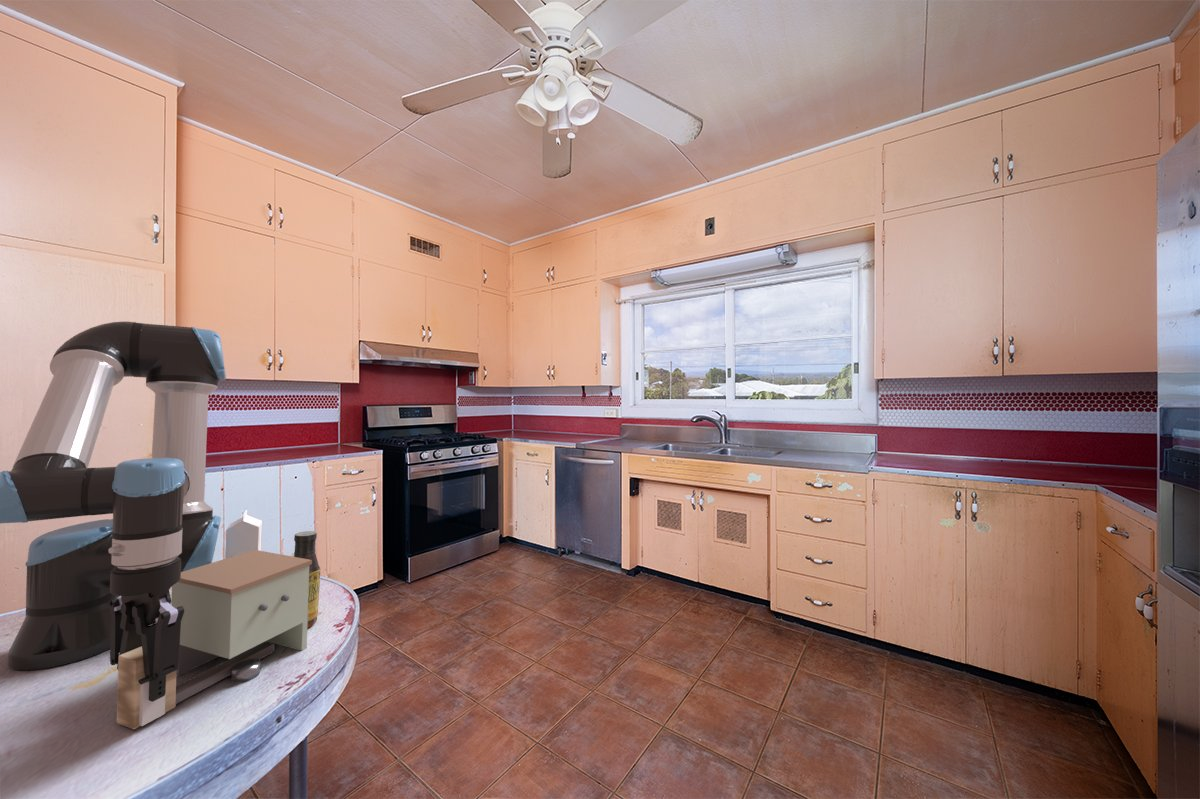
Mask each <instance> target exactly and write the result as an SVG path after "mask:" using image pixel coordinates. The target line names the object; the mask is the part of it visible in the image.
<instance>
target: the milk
mask: <svg viewBox="0 0 1200 799" xmlns="http://www.w3.org/2000/svg"><path fill="white" fill-rule="evenodd" d="M262 527H263V521H262V519H258V518H256V517H254V516H250V515H248V509H245V511H244V512H243V513H242V517H241V518H239V519H236V520H235V521H233V522H230V524H229V526H228V527H227V529H226V530H225V548H224V549H225V551H224V552H225V554H224V559H227V558H230V557H233V556H237V555H240V554H243V553H247V552H250V551H253V550H259V551H262V535H263V534H262V532H263V531H262V530H263V528H262Z"/></svg>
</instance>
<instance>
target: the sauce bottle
mask: <svg viewBox="0 0 1200 799" xmlns="http://www.w3.org/2000/svg"><path fill="white" fill-rule="evenodd" d="M317 533H318V532H317V531H315V530H309V531H299V532H297V533H295V534H294V539H293V541H294V551H293V553H294V554H293V557H298V558H303V559H309V560H312V564H311V565H309V590H308V621H307V629H309V628H311V627H312V626H315V624H316V622H317V620H318V615H319V598H320V586H321V584H320V583H321V582H320V581H321V567H320V565H319V562H318V559H317V555H316V554H317V553H316V539H317V535H318V534H317Z"/></svg>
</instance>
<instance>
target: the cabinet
mask: <svg viewBox="0 0 1200 799" xmlns="http://www.w3.org/2000/svg"><path fill="white" fill-rule="evenodd" d="M311 564H312V560H309V559H303V558H298V557H294V556H291V555H286V554H280V553H274V552H268V551H263V550H261V551H259V550H253V551H250V552H247V553H243V554H240V555H237V556H233V557H230V558H227V559H225V558H224V559H221V560H217V561H214V562H213V561H212V563H210V564H207V565H203V566H200V567H197V568H193V569H190V570H187V571H183V572H181V578H180V580H179V581H178V582H177V583H176V584H174V585H173V586H172V587H171V605H172V606H173V607H174V608H177V607H180V606H182V607H183V608H184V614H183V617H182V620H181V630H180V647H179V664H178V670H177V671H176V677H179V676H181V675H183V674H185V673H188V672H190V671H191V670H194V669H196V668H198V667H200V666H202V665H205V664H206V663H208V662H210V661H212V660H215V659H217V658H219V657H221V658H224V659H227V660H229V659H231V658H233V657H235V656H237V655H239V654H241V653H243V652H245V651H247V650H249V649H251V648H253V647H255V646H257V645H259V644H261V643H263V642H265V641H266V642H270V643H273V644H274V645H280V646H283V647H287V648H290V649H294V650H298V651H300V652H301V651H304V650H306V649H307V648H308V647H307V646H308V645H307V644H308V628H307V621H308V590H309V565H311Z"/></svg>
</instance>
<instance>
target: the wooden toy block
mask: <svg viewBox="0 0 1200 799" xmlns="http://www.w3.org/2000/svg"><path fill="white" fill-rule="evenodd" d="M273 653H275V643H271V642H267V641H265V642H263V643H261V644H259V645H257V646H255V647H253V648H251V649H249V650H247V651H245V652H243V653H241V654H239V655H237V656H235V657H233V658H231V659H227V660H225V661H223V662H221V663H219V664H217V665H214V666H212V667H211V668H208V669H206V670H205V671H203V672H201V673H198V674H197V675H195V676H193V677H191V678H189V679H187V680H185V681H183V682H181V683H179V684H177V675H176V671H177V670H176V671H174V672H172V673H170V674H167V675H166V695H165V713H167V712H169V711H171V710H172V709H175V708H176V705H177V704H178V703H180V702H182V701H184V700H186V699H188V698H190V697H191V696H194V695H195V694H197V693H199V692H201V691H204V689H206V688H208V687H211V686H212V685H214V684H216V683H218V682H220V681H221V680H224V679H225V678H227V677H229V676H231V671H232V668H233V666H235V665H236V664H238V663H240V662H242V661H245V660H249V659H258V660H261V659H263V658H265V657H267V656H269V655H271V654H273ZM142 678H145V674H144V663H143V652H142V646H141V647H139V648H136V649H134V650H131V651H129V652H126V653H124V654H121V655H119V661H118V670H117V698H116V702H117V703H116V723H117V724H119V725H120V726H121V725H122V726H124V727H126V728H130V729H132V730H135V729H137V728H139V727H141V726H140V725H139V705H140V684H139V682H138V680H140V679H142Z"/></svg>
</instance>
